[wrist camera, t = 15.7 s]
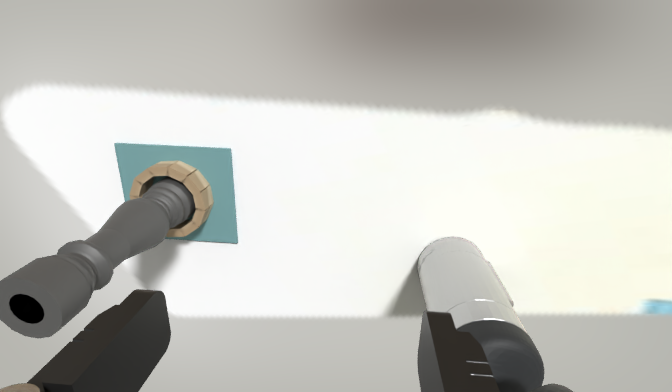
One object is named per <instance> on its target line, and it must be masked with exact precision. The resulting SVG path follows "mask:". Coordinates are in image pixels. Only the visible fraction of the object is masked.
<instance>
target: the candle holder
mask: <svg viewBox="0 0 672 392" xmlns="http://www.w3.org/2000/svg"><path fill="white" fill-rule="evenodd" d="M195 211H196V207H195V202H194V198H193V194H192V193H191V192H190V191H189V190H188V188H187V187H186V186H185V185H184V184H183V182H180V181H178V180H176V179H174V178H172V177H170V176H167V177H165V178H164V179H162V180H160V181H159V182H157V183H155V184H154V185H153V186H151V187H150V188H149V189H148V191H147V192H146V193H144V194H143V196H142V198H136V199H132V200H128V201H126V202H124V203H123V204H122V205H121V206H119V207H118V208H117V209H116V211H115V212H114V213H113V214H112V216H111V217H110V218H109V219H108V220H107V222H106V223H105V224H104V225H103V226H102V228H101V229H100V230H99V231H98V232H97V233H96V234H94V235H93V236H91V237H90V238H88V239H87V240H85V241H83V240H77V241H73V242H68V243H66V244H65V245H64V246H63V247H61V248H60V249H59V250H58V253H57V255H52V256H47V257H42V258H37V259H35V260H34V261H32V262H30V263H29V264H27V265H25V266H24V267H22V268H20V269H19V270H17V271H16V272H14V273H12V274H11V275H9V276H8V277H6V278H4V279H3V280H1V281H0V320H1V321H3V322H4V323H5V324H6V325H7V326H8V327H10V328H11V329H12V330H14V331H16V332H18V333H20V334H22V335H24V336H28V337H35V338H44V337H50V336H52V335H53V334H55V333H56V332H57V331H59V330H60V329H61V328H62V327H63V326H64V325H66V324H67V323H68V322H69V321H70V320H71V319H72V318H73V317H75V316H76V315H77V314H78V313H79V312H80V311H81V310H82V309H83V308H85V307H86V306H87V304H88V302H89V299H90V298H91V295H92V293H93V291H94V290H98V289H101V288H103V287H104V286H105V285H107V284H108V283H109V282H110V280H111V277H112V275H113V269H114V268H115V267H117V266H118V265H119V264H120V263H121V262H123V261H124V260H125V259H128V258H130V257H132V256H134V255H137V254H139V253H141V252H143V251H146V250H148V249H150V248H153V247H155V246H156V245H158V244H159V243H160V242H162V241H163V240H164V239H165V237H166V235H167V233H168V231H169V228H172V227H175V226H176V225H178V224H181V223H182V222H184V221H185V220H186V219H188V218H189V217H190V216H191V215H192V214H193V213H194V212H195Z"/></svg>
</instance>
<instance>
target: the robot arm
mask: <svg viewBox="0 0 672 392" xmlns="http://www.w3.org/2000/svg"><path fill="white" fill-rule="evenodd" d="M418 273H419V277H420V282H421V286H422V291H423V295H424V300H425V304H426V308H427V311H424V313H423V318H422V325H421V334H420V341H419V349H418V374H419V380H420V387H421V392H573V391H571V390H570V389H568V388H566V387H565V386H562V385H558V384H548V385H544V386H542V383H543V379H544V366H543V361H542V359H541V356H540V354H539V352H538V350H537V348H536V346H535V345H534V343H533V341H532V340H531V338H530V336H529V335H528V333H527V331H526V330H525V328H524V326H523V324H522V323H521V321H520V319H519V318H518V316H517V314H516V312H515V311H514V309H513V301H512V299H511V298H510V296H509V294H508V293H507V291H506V289H505V287H504V286H503V284H502V282H501V281H500V279H499V277H498V276H497V274H496V272H495V271H494V269H493V267H492V266H491V264H490V262H488V261H486V260H485V258H484V257H483V255H482V253H481V251H480V250H479V249H478V248H477V246H476V245H474V244H473V243H472V242H470V241H468V240H466V239H463V238H459V237H447V238H442V239H439V240H437V241H435V242H433V243H431V244H430V245H429V246H427V247H426V248H425V249H424V251H423V252H422V253H421V255H420V257H419V261H418ZM170 336H171V330H170V324H169V318H168V312H167V306H166V300H165V295H164V293H163V292H162V291H153V290H139V289H138V290H134V291H133V292H132V293H131V294H130V295H129V296H128V297H127V298H126V299H125V300H124V301H123V302H122V303H121V304H120V305H114V306H113V307H111V308H109V309H108V310H106V311H104V312H102V313H101V314H99V315H98V316H97V317H95V318H94V319H93V320H92V321H91V322H90V323H89V324H88V325H87V326H86V327H85V328H84V331H81V332H80V333H79V334H78V335H77V336H76V337H75V338H73V341H72V342H69V343H68V344H67V345H66V346H65V347H64V348H63V349H62V350H61V351H60V352H59V353H58V354H57V355H56V356H55V357H53V358H52V359H51V360H50V361H49V362H48V363H47V364H46V365H45V366H44V367H43V368H42V369H41V370H40V371H39V372H38V373H37V374H36V375H35V376H34V377H33V378H32V379H30V380H29V381H28V382H27V383H21V384H15V385H11V386H8V387H5V388H2V389H0V392H138V391H139V390H140V388H141V387H142V385H143V384H144V382H145V381H146V380H147V378H148V377H149V375H150V374H151V372H152V371H153V369H154V368H155V366H156V365H157V363H158V362H159V360H160V359H161V358H162V356H163V355H164V353H165V352H166V350H167V348H168V345H169V342H170Z"/></svg>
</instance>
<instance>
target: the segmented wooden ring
mask: <svg viewBox="0 0 672 392" xmlns="http://www.w3.org/2000/svg"><path fill="white" fill-rule="evenodd" d="M196 170H197V169H196V168H194V167H192V166H190V165H188V164H186V163H184V162H182V161H178V160H177V161H161V162H158V163H156V164H155V165H153V166H151V167H149V168H147V169H146V170H144V171H143V172H142V173H140V174H139V175H138V176H136V177H135V179H134V180H133V184H132V187H131V191H130V194H129V195H130V200H132V199H136V198H142V196H143V194H144V193H146V192H147V191H148V189H149V188H150V187H151V186H152V184H153V180H154V177H156V176H170V177H172V178H174V179H176V180H178V181H180V182H183V184H184V185H185V186H186V187H187V188H188V190H189V191H190V192H191V193H192V194H193V198H194V202H195V207H196V211H195V214H194V216H193V218H192V219H191V220H185V221H184V222H182V223H181V224H178V225H176V226H175V227H172V228H169V231H168V233H167V235H166V236H167V237H184V236H187V235H188V234H190V233H191V232H193V231H194V230H196V229H197V228H199V227H200V226H201V225H202V224H203V223H204V222H205V221H206V220H207V219H208V217H209V214H210V212H211V209H212V206H213V204H214V203H213V202H214V200H213V196H212V191H211V186H210V185H209V183H208V181H207V180H206V179H205V178H204V176H203V175H202V174H201V173H200V171H199V170H197V171H196Z"/></svg>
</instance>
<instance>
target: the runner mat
mask: <svg viewBox="0 0 672 392" xmlns="http://www.w3.org/2000/svg"><path fill="white" fill-rule="evenodd" d="M114 145H115V150H116V156H117V161H118V166H119V172H120V177H121V182H122V188H123V193H124V198H125V202H126V201H128V200H130V195H129V194H130V191H131V187H132V184H133V180H134V179H135V177H136V176H138V175H139V174H140V173H142V172H143V171H144V170H146V169H147V168H149V167H151V166H153V165H155V164H156V163H158V162H161V161H177V160H178V161H182V162H184V163H186V164H188V165H190V166H192V167H194V168H196V169H197V170H199V171H200V173H201V174H202V175H203V176H204V178H205V179H206V180H207V181H208V183H209V185H210V186H211V191H212V196H213V200H214V202H213V203H214V204H213V206H212V209H211V212H210V214H209V217H208V219H207V220H206V221H205V222H204V223H203V224H202V225H201V226H200V227H199V228H197V229H196V230H194V231H193V232H191V233H190V234H188V235H187V236H184V237H167V236H166V237H165V239H180V240H196V241H211V242H227V243H237V242H238V236H237V223H236V209H235V196H234V182H233V168H232V155H231V149H230V148H210V147H189V146H168V145H147V144H126V143H115V144H114ZM197 170H196V171H197ZM165 177H167V176H156V177H154V180H153V184H152V186H153V185H154V184H155V183H157V182H159V181H160V180H162V179H164V178H165ZM194 214H195V212H194V213H193V214H192V215H191V216H190V217H189V218H188V219H186V220H191V219H192V218H193V216H194Z"/></svg>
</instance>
